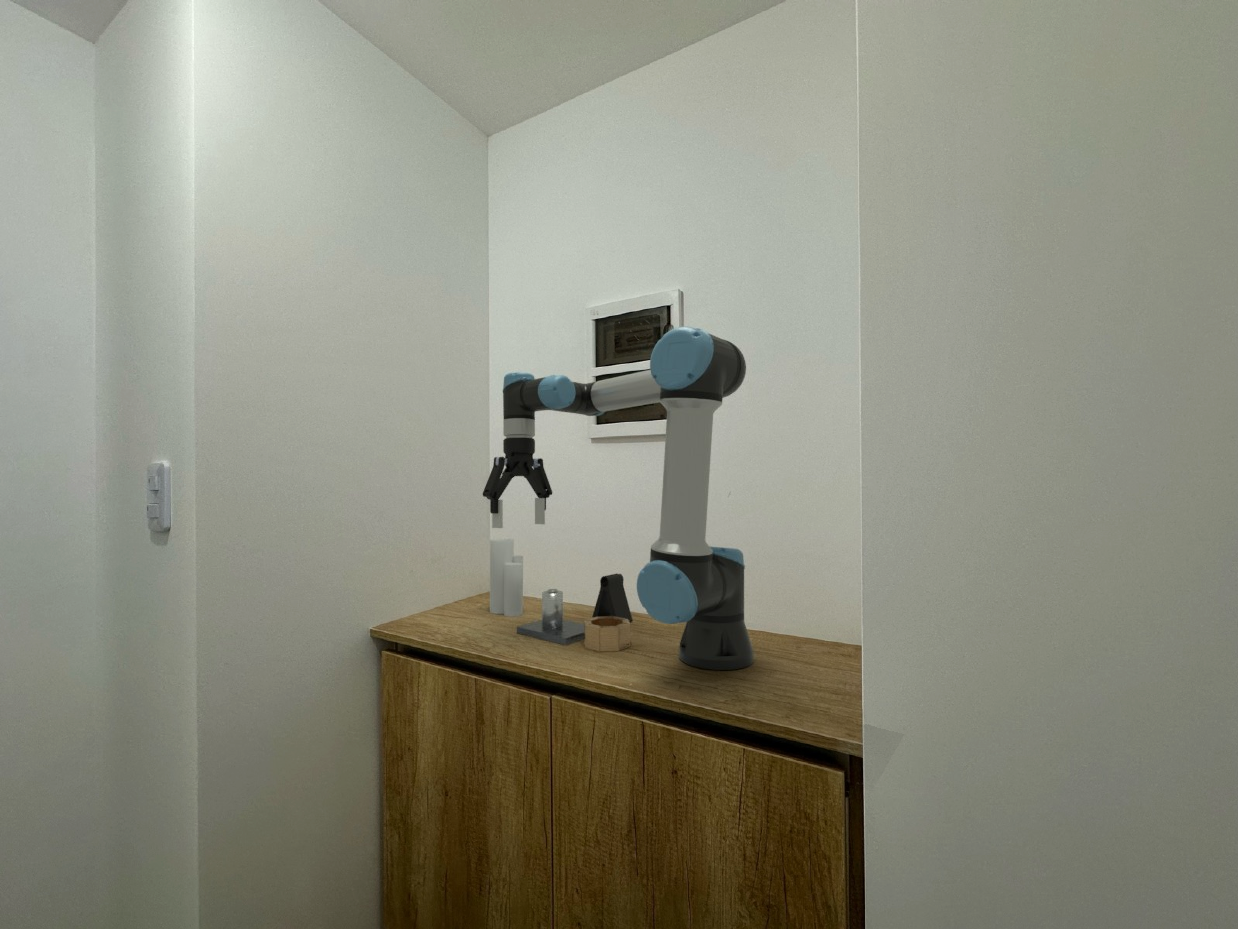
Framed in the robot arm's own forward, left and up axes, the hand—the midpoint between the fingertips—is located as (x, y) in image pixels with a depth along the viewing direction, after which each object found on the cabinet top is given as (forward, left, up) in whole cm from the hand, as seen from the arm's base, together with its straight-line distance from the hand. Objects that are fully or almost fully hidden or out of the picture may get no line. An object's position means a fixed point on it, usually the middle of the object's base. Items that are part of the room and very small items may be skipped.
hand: (519, 526), depth 133 cm
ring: (-22, -6, -26) cm, 34 cm away
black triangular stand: (-10, -23, -26) cm, 36 cm away
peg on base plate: (-7, -6, -26) cm, 27 cm away
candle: (+19, -13, -26) cm, 35 cm away
